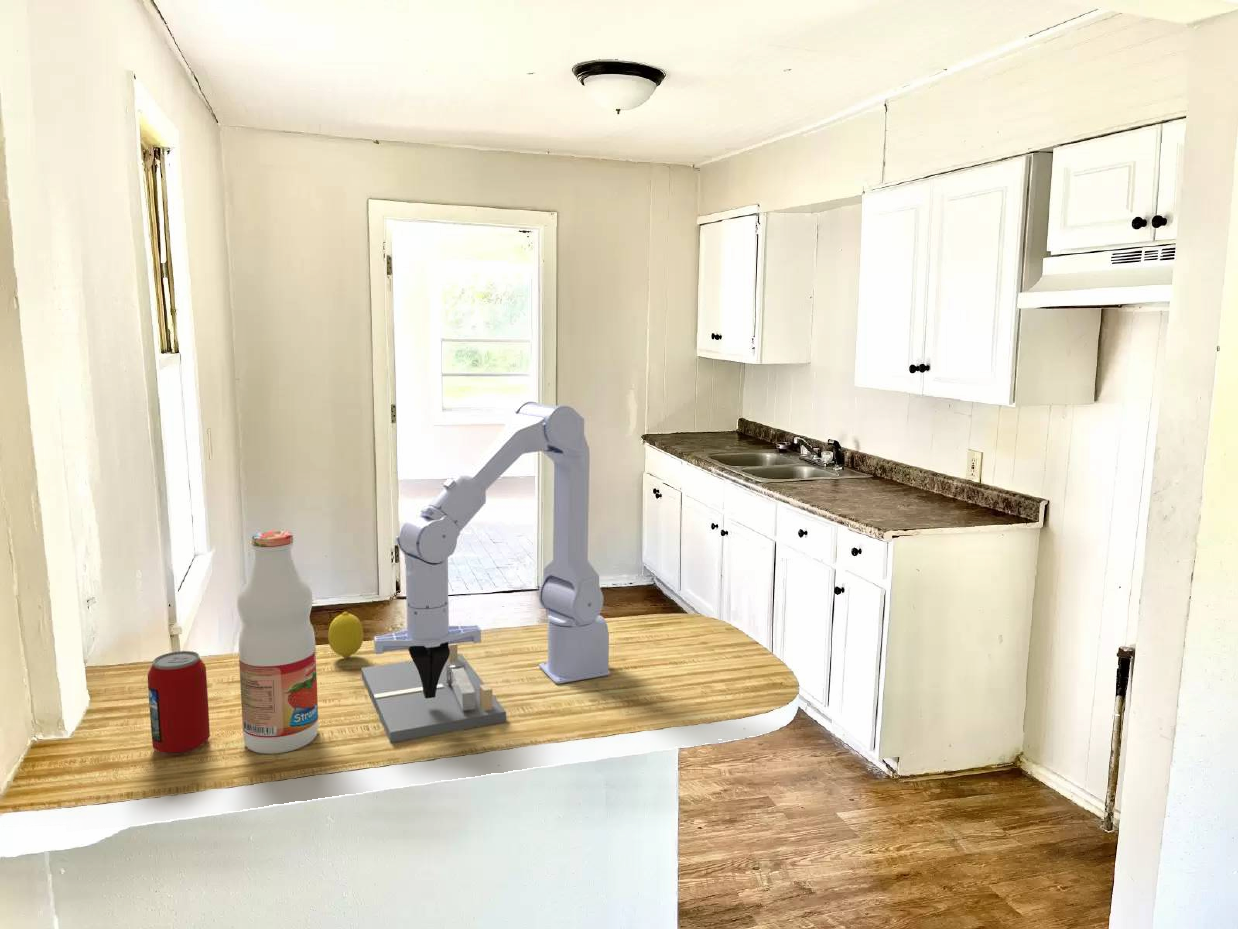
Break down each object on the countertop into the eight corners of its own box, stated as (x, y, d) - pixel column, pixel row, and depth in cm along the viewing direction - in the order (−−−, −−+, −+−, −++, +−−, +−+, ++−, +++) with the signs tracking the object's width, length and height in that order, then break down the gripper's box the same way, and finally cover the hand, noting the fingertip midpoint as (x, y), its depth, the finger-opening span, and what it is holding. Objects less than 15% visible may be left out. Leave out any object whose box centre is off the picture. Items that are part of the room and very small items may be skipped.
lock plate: (461, 662, 143) (460, 636, 142) (506, 721, 121) (505, 691, 121) (361, 677, 136) (360, 649, 135) (390, 743, 114) (389, 711, 114)
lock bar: (445, 678, 131) (444, 663, 130) (463, 676, 132) (463, 661, 131) (459, 711, 120) (458, 694, 119) (479, 708, 121) (478, 691, 120)
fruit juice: (251, 726, 119) (240, 527, 114) (322, 720, 121) (315, 525, 116) (236, 759, 110) (224, 544, 105) (314, 752, 112) (305, 542, 107)
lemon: (353, 666, 140) (352, 618, 139) (322, 663, 141) (320, 616, 140) (370, 653, 146) (368, 608, 144) (340, 651, 147) (338, 605, 145)
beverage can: (166, 734, 116) (160, 649, 114) (218, 733, 116) (213, 648, 115) (143, 759, 109) (136, 669, 107) (198, 758, 110) (192, 668, 108)
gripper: (376, 617, 113) (379, 714, 115) (485, 606, 119) (486, 699, 121) (371, 601, 120) (374, 693, 122) (474, 591, 125) (475, 680, 127)
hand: (429, 695), depth 122 cm, fingers closed
